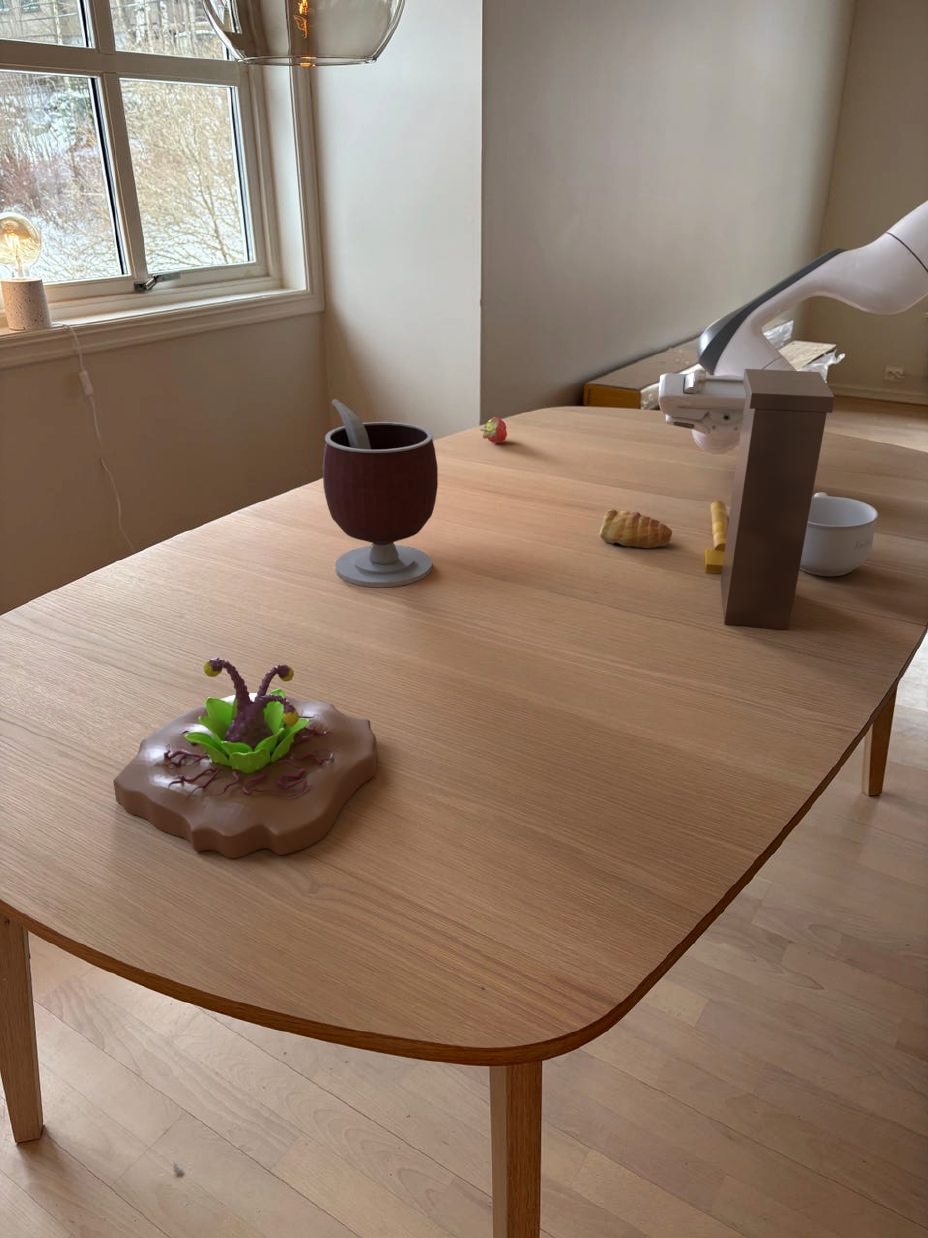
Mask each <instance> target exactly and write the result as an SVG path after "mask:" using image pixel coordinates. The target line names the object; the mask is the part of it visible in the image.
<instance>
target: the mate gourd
mask: <svg viewBox="0 0 928 1238" xmlns="http://www.w3.org/2000/svg"><path fill="white" fill-rule="evenodd" d="M331 405H332V406H333V407H335V408H336V410H337V412H338V413H339V416H340V417H341V420H342V423H343V426H339V427H336V428H334V429H332V430H330V431H328V432H327V433H326V434H325V436H324V441H325V444H324V449H323V455H322V456H323V458H322V468H321V469H322V485H323V491H324V496H325V502H326V505H327V509H328V511H329V514H330V516H331V518H332V520H333V522H335V523H336V525H337V526H338V527H339V528H340V529H341V530H342V531H343V533H344V534H346V535H347V536H349V537H351V538H352V539H355V540H359V541H364V542H367V543H372V544H371V545H367V546H361V547H358V548H355V549H351V550H348V551H346V552H344V553H343V554H341V555H340V556H339V557H338V558H337V559H336V561H335V565H334V566H335V573H336V575H337V576H338V577H339V579H341V580H343V581H345V582H347V583H350V584H352V585H356V586H361V587H367V588H368V587H369V588H392V587H393V588H394V587H401V586H406V585H410V584H413V583H416V582H419V581H421V580H423V579H424V578H426V577H427V576H428V575H429V574H430V573H432V569H433V560H432V558H431V556H430V555H429V554H428V553H426V552H425V551H422V550H421V549H418V548H415V547H411V546H407V545H400V544H395V542H399V541H402V540H405V539H409V538H411V537H414V536H415V535H417V534H419V533H420V531H421V530H422V529H423V528H424V526H425V525H426V524H427V522H428V521H429V520H430V519H431V517H432V516H433V513H434V509H435V505H436V500H437V493H438V485H439V481H438V478H439V477H438V476H439V475H438V473H439V472H438V460H437V455H436V449H435V448H436V447H435V444H434V440H433V438H434V437H433V436H434V435H433V432H431V430H429V428H426V427H424V426H420V425H417V424H412V423H408V422H407V423H406V422H398V421H397V422H396V421H370V422H369V421H368V422H362V421H361V419H360V418H359V417H358V416H357V414H356V413H354V411H352V410H351V409H350V408H349V407H347V406H346V405H345V404H344V403H343V402H340V400H338V399H337V398H334V399H332V401H331Z"/></svg>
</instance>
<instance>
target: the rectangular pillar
mask: <svg viewBox="0 0 928 1238" xmlns="http://www.w3.org/2000/svg"><path fill="white" fill-rule="evenodd" d="M743 385H744V389H745V392H746V397H745V404H744V412H743V419H742V426H741V434H740V441H739V445H738V449H737V455H736V457H737V458H736V463H735V464H736V465H735V471H734V479H733V486H732V494H731V500H730V501H731V502H730V507H729V508H730V509H729V516H728V529H727V537H726V544H725V551H724V559H723V566H722V573H721V574H720V593H721V603H722V615H723V625H729V626H738V627H739V626H740V627H749V628H751V627H752V628H761V629H762V628H763V629H771V630H772V629H773V630H782V631H785V630H786V631H790V627H791V626H790V625H791V619H792V615H793V608H794V603H795V597H796V591H797V586H798V581H799V580H798V579H799V573H800V570H801V569H800V563H801V558H802V552H803V546H804V541H805V535H806V529H807V523H808V518H809V512H810V506H811V501H812V497H813V496H814V495H813V494H814V488H815V484H816V477H817V472H818V465H819V461H820V455H821V448H822V443H823V437H824V431H825V427H826V420H827V415H828V414H832V413H833V411H834V406H835V405H834V404H835V400H836V396H835V395H834V394H833V391H832V390H831V388H830V387H829V386H828V384H827V382H826V380H825V379H824V377H823V376H822V374H821V372H820V371H807V370H805V371H804V370H797V371H785V370H763V369H745V370H744V378H743Z"/></svg>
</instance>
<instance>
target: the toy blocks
mask: <svg viewBox="0 0 928 1238" xmlns="http://www.w3.org/2000/svg"><path fill="white" fill-rule="evenodd" d="M709 510H710V511H709V512H710V521H711V533H712V535H711V536H712V545H713V549H705V550H704V557H703V558H704V572H705V573H706V574H707V573H708V574H719V575H721V573H722V566H723V559H724V551H725V544H726V537H727V529H728V522H729V519H728V513H727V506H726V504H725V502H724V501H722V500H715V501H712V503H711V504H710V507H709Z"/></svg>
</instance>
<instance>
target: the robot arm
mask: <svg viewBox="0 0 928 1238" xmlns="http://www.w3.org/2000/svg"><path fill="white" fill-rule="evenodd" d="M927 296H928V200H926V201H925V202H923V203H922V204H920V205H919V206H917V207H916V208H914V209H913V210H912V211H910V212H909V213H907V214H906V215H905V216H904V217H902V218H901V219H899V220H898V221H897V222H896V223H895V224H894V225H892V226H891V227H890V228H889V229H888V230H886V232H884V233H883V234H882V235H881V236H879V237H878V238H877V239H875V240H874V241H872V242H870V243H868V244H866V245H864V246H860V247H857V248H854V249H845V248H843V247H842V248H841V247H837V248H835V249H832V250H829V251H828V252H825V253H823V254H822V255H820V256H818V257H816V258H815V259H813V260H811V261H809V262H808V263H807V264H805V265H804V266H802V267H800V268H799V269H797V270H796V271H794V272H792V273H790V274H789V275H788V276H786V277H785V278H784V279H782V280H780V281H779V282H777V283H776V284H774V285H772V286H771V287H770V288H769V289H768V288H767V290H765V291H763V292H762V293H761V294H759V295H758V296H756V297H754V299H752V300H750V301H748V302H747V303H744V305H742V306H740V307H738V308H737V309H735V310H733V311H731V312H730V313H728V314H726V315H724V316H722V317H720V318H718V319H717V320H715V321H713V322H712V323H711V324H710V325H709V326H708V327H707V328H706V329H705V330H704V331H703V332H702V334H700V336H699V338H698V342H697V351H696V352H697V363H698V365H700V366H701V368H702V369H695V370H694V372H693V373H690V374H689V373H673V372H666V373H663V374H661V375H660V377H659V385H658V397H657V398H658V400H657V401H658V405H659V408H660V411H661V412H662V413H663V414H664V415H665V423H666V424H668V425H670V426H675V427H679V428H685V429H691V433H692V437H693V440H694V442H695V443H696V445H697V447H699V448H700V450H703V451H704V452H705V453H708V454H710V455H725V454H727V453H730V452H731V451H733V450H734V449H736V448H738V447H739V441H740V434H741V426H742V419H743V412H744V404H745V397H746V392H745V389H744V385H743V378H744V370H745V369H763V370H785V371H798V370H797V369H796V368H795V367H794V366H793V364H792V363H790V361H789V360H788V359H787V358H786V357H785V356H784V355H783V354H782V353H781V352H780V351H779V350H778V349H777V348H776V347H775V345H774V344H773V343H772V342H771V341H770V340H769V339H768V337H766V335H765V334H764V332H763V327H764V326H766V325H767V324H769V323H770V322H772V321H773V320H775V319H777V318H778V317H780V316H781V315H782V314H784V313H786V312H788V311H789V310H791V309H792V308H794V307H795V306H797V305H798V304H799V303H801V302H803V301H805V300H807V299H809V298H813V297H827V298H831V299H835V300H837V301H840V302H842V303H844V304H846V305H849V306H851V307H853V308H855V309H857V310H860V311H863V312H865V313H869V314H873V315H880V316H891V315H896V314H900V313H904V312H905V311H907V310H908V309H910V308H912V307H913V306H915V305H916V304H918V303H919V302H920V301H921V300H923V299H924V298H926V297H927ZM707 373H708V374H707Z"/></svg>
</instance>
